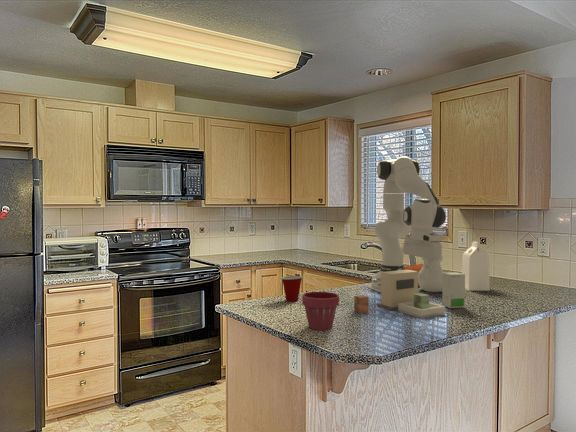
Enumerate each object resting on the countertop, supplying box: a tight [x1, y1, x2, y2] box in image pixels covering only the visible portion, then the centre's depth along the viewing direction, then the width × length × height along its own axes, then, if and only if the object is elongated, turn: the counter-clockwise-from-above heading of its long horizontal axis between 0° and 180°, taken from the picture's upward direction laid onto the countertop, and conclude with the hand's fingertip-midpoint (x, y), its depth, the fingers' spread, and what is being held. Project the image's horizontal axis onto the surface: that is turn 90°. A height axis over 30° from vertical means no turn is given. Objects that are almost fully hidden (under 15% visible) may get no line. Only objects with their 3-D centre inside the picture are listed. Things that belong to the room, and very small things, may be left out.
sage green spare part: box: [414, 292, 430, 309], centre depth 203 cm, size 4×4×7 cm
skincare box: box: [441, 271, 466, 309], centre depth 215 cm, size 8×7×16 cm
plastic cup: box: [280, 275, 303, 303], centre depth 228 cm, size 11×11×12 cm
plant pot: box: [301, 291, 340, 331], centre depth 180 cm, size 14×14×13 cm
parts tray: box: [397, 301, 446, 319], centre depth 203 cm, size 14×14×4 cm
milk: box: [461, 241, 491, 292], centre depth 258 cm, size 12×12×26 cm
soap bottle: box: [418, 255, 445, 293], centre depth 250 cm, size 17×12×29 cm
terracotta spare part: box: [353, 294, 370, 315], centre depth 205 cm, size 4×4×7 cm
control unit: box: [376, 270, 419, 312], centre depth 215 cm, size 10×18×16 cm, turn 118°
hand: (420, 267), depth 202 cm, fingers open, 8 cm apart
